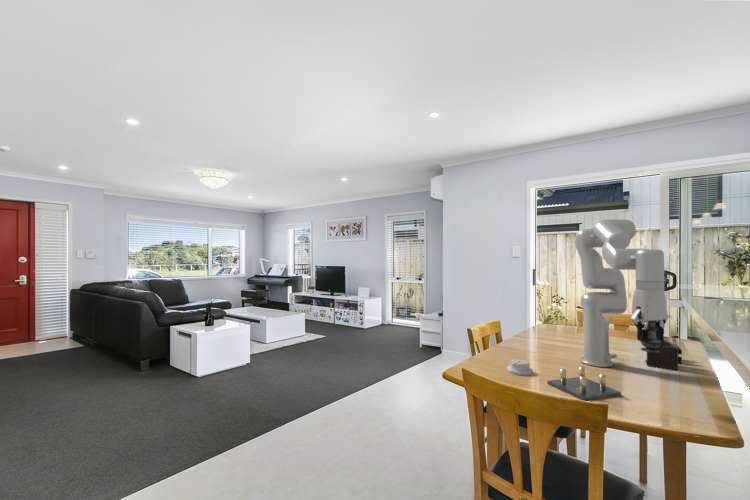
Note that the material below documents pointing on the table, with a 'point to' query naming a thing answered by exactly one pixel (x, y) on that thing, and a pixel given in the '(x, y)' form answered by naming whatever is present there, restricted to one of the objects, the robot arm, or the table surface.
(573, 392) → the standoff chassis
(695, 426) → the table surface
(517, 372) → the mechanical component
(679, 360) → the end cap
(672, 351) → the dark boxy piece
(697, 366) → the table surface
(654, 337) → the grey chess piece
